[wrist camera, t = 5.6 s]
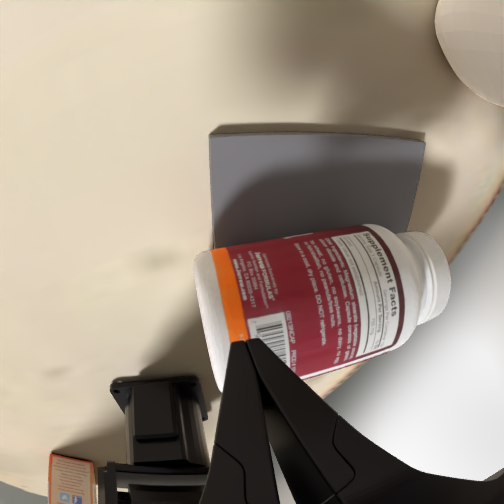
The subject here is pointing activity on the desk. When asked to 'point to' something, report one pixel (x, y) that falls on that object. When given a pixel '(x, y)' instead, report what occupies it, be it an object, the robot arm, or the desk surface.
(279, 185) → the mat
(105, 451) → the desk surface
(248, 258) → the pill bottle
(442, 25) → the cat figurine
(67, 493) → the cracker box
